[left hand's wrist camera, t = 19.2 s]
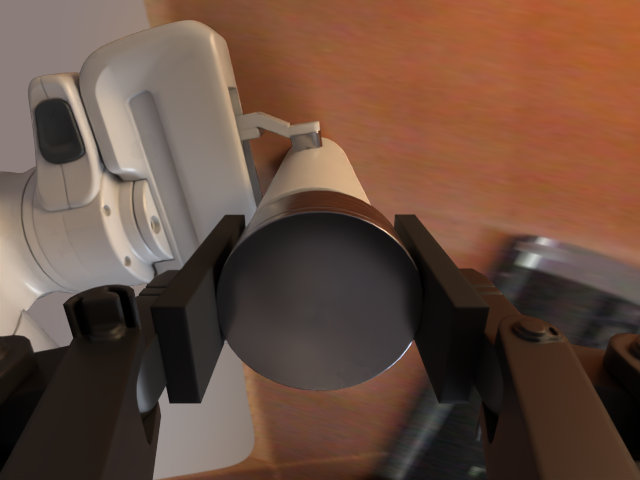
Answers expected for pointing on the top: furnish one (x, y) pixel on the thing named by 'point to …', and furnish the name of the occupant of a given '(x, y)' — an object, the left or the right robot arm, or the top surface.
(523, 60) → the top surface
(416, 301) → the lid
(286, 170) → the white cylindrical bottle
